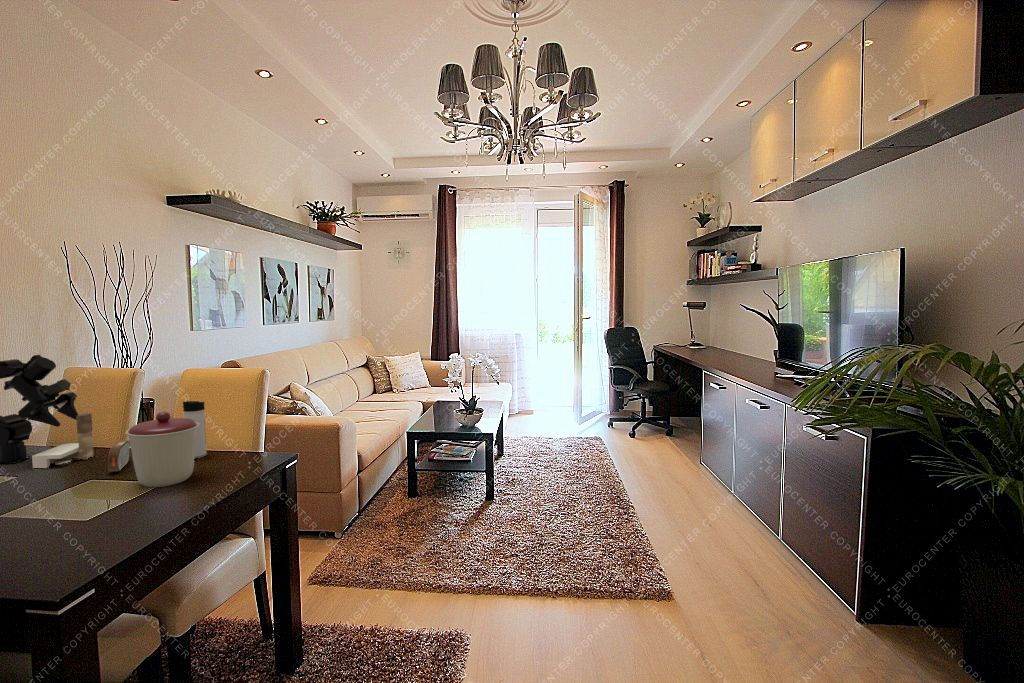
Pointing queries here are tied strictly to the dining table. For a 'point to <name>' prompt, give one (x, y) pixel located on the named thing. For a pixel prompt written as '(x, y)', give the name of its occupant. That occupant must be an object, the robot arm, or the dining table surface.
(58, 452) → the cream rectangular box
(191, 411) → the travel mug
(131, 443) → the canister
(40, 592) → the dining table surface
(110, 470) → the tin
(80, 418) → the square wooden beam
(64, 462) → the grey metal disc
